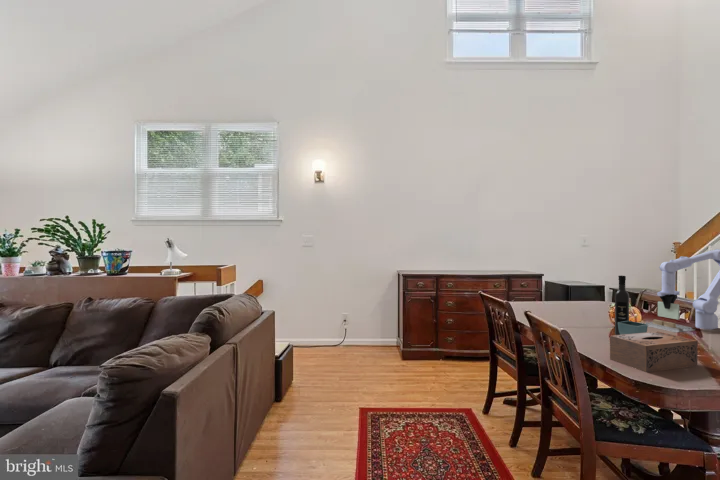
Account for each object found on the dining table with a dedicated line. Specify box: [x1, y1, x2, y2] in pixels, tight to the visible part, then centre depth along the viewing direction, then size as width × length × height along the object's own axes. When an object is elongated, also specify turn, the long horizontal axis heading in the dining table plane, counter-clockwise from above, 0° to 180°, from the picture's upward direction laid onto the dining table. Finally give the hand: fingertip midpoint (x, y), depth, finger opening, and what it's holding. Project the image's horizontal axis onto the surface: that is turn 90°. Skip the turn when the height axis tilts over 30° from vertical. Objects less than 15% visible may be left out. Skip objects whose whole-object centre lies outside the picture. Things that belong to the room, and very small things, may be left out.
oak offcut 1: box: [652, 319, 665, 326], centre depth 198 cm, size 2×4×4 cm, turn 18°
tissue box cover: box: [609, 330, 699, 373], centre depth 145 cm, size 26×14×10 cm, turn 104°
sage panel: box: [657, 301, 680, 320], centre depth 201 cm, size 1×10×8 cm, turn 17°
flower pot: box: [618, 320, 648, 335], centre depth 173 cm, size 9×9×9 cm
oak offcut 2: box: [664, 321, 677, 328], centre depth 193 cm, size 2×4×4 cm, turn 18°
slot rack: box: [645, 321, 694, 333], centre depth 196 cm, size 15×16×2 cm
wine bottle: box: [614, 275, 630, 335], centre depth 186 cm, size 6×6×30 cm
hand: (668, 308), depth 201 cm, fingers closed on sage panel, 1 cm apart
